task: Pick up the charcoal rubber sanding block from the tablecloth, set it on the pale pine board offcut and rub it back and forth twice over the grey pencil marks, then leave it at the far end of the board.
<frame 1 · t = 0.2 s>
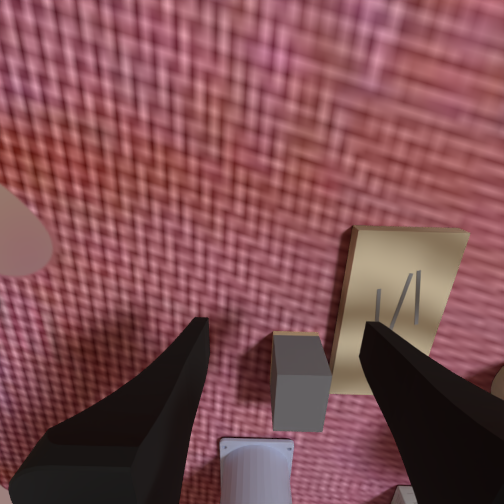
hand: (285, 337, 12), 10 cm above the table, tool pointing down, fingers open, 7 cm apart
sanding block: (292, 357, 26), on the table
pine board: (383, 315, 24), on the table
small box: (422, 497, 34), on the table
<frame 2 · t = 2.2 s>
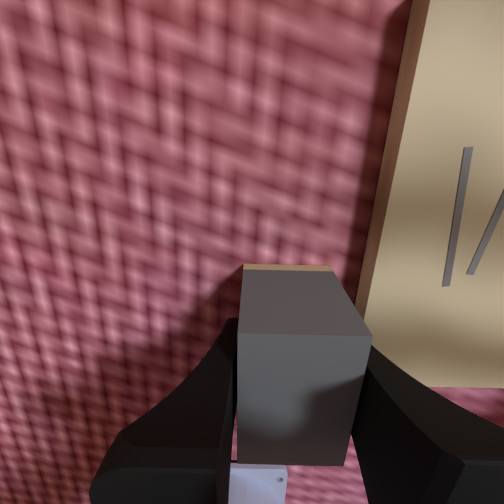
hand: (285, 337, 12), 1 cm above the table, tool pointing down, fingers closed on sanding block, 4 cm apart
sanding block: (282, 318, 14), on the table, touching gripper
pine board: (461, 227, 12), on the table
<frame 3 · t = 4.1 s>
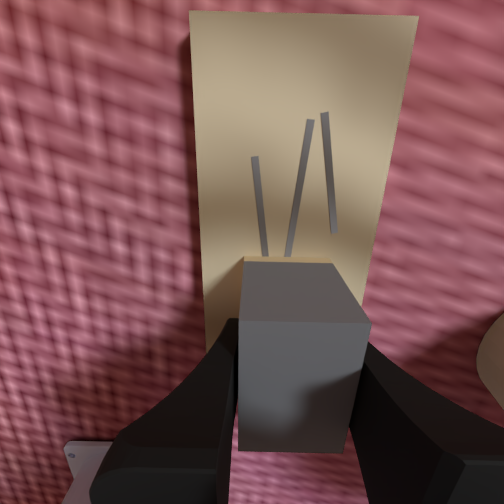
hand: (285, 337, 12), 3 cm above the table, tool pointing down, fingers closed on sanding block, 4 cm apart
sanding block: (282, 310, 14), point 1 cm above the table, touching gripper, pine board
pine board: (285, 225, 14), on the table
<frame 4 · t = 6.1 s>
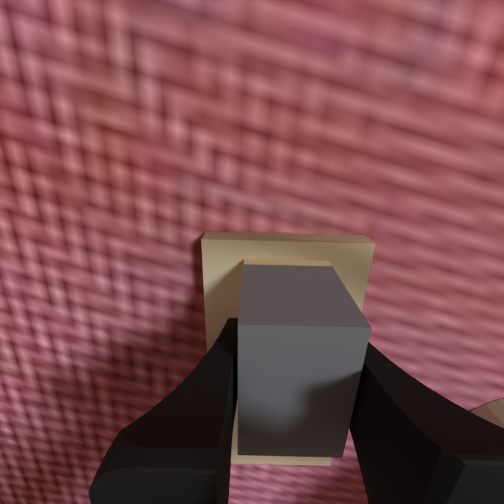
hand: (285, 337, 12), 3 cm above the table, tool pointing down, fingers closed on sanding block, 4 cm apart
sanding block: (282, 313, 14), point 1 cm above the table, touching gripper
pine board: (276, 358, 17), on the table
reusable coffee cup: (502, 438, 19), on the table
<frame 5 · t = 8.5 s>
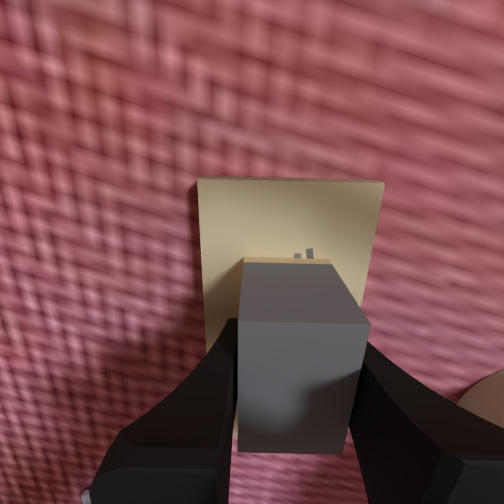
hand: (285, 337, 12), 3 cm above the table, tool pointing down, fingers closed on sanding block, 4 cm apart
sanding block: (282, 311, 14), point 1 cm above the table, touching gripper
pine board: (278, 321, 16), on the table
when the fingers open (3 cm above the table, at t = 10.2 s): sanding block stays where it is, resting on pine board.
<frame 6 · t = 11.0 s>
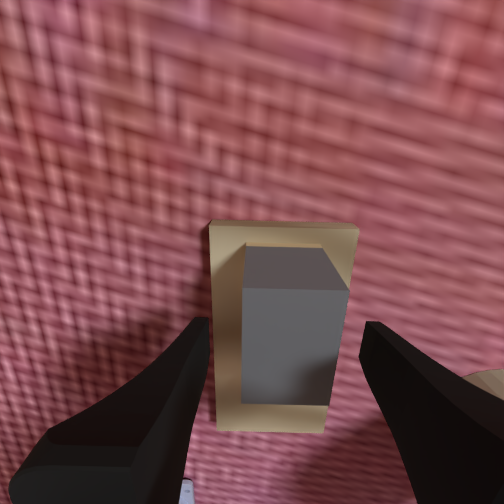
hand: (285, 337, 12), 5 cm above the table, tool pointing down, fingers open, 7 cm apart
sanding block: (279, 291, 16), point 1 cm above the table, touching pine board
pine board: (274, 334, 19), on the table
reusable coffee cup: (479, 410, 21), on the table
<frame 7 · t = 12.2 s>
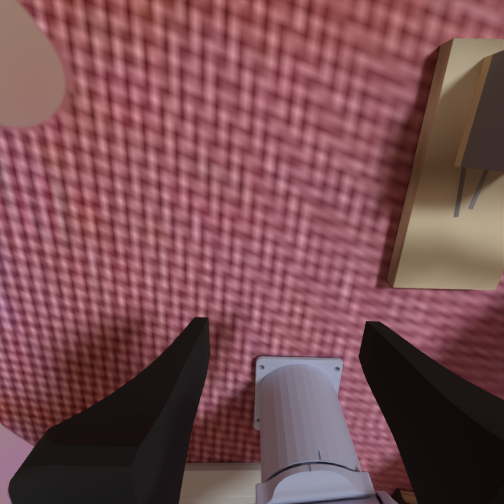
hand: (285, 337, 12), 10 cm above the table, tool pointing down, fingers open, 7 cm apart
sanding block: (500, 116, 17), point 1 cm above the table, touching pine board
pine board: (465, 182, 19), on the table
baseboard molding: (199, 485, 34), on the table
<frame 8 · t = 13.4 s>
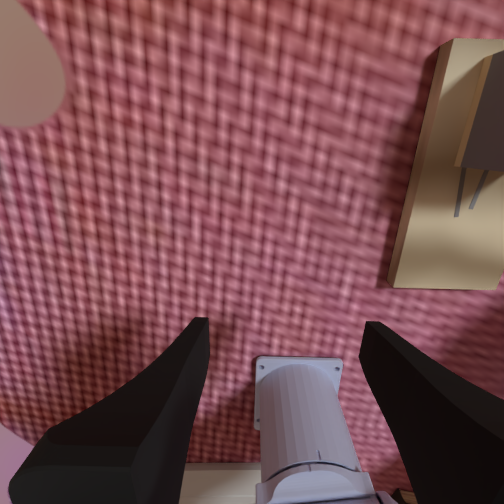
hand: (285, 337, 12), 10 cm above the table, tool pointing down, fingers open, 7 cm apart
sanding block: (500, 116, 17), point 1 cm above the table, touching pine board
pine board: (465, 182, 19), on the table
baseboard molding: (199, 485, 34), on the table
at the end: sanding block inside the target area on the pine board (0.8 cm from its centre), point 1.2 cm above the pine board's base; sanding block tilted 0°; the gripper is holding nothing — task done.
